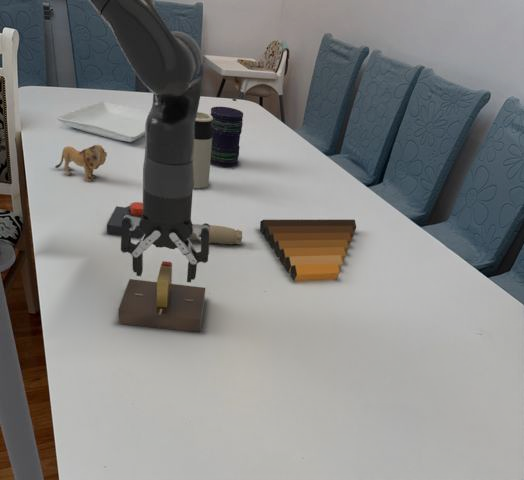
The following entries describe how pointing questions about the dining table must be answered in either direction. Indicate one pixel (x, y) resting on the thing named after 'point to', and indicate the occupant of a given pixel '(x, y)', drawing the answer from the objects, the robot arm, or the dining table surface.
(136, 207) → the button
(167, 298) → the lock knob
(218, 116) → the storage jar
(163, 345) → the dining table surface
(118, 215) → the button housing
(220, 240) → the handle
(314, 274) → the pan flute
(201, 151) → the travel mug
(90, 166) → the lion figurine
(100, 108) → the square plate
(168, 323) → the panel
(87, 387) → the dining table surface
